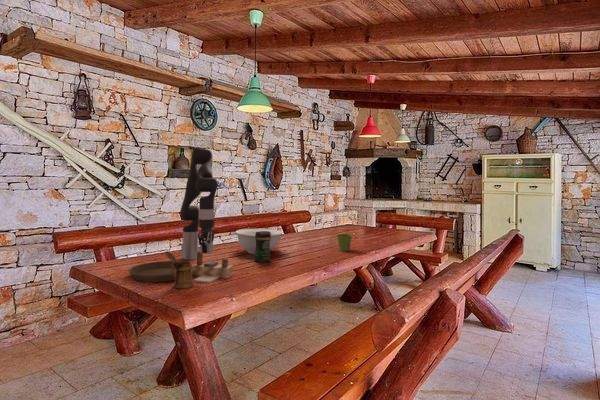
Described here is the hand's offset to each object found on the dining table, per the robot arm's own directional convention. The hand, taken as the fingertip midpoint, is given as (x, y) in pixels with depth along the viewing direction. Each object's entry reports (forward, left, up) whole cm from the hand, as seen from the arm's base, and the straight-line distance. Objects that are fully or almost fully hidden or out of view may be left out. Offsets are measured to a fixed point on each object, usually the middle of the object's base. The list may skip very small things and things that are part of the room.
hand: (206, 251), depth 187 cm
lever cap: (0, 0, 0) cm, 0 cm away
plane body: (-1, +9, -14) cm, 17 cm away
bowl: (+2, +73, -14) cm, 74 cm away
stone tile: (0, 0, -14) cm, 14 cm away
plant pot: (+58, +99, -14) cm, 116 cm away
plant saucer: (-26, +1, -15) cm, 30 cm away
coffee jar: (+13, +49, -14) cm, 53 cm away
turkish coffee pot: (-6, -15, -14) cm, 22 cm away
